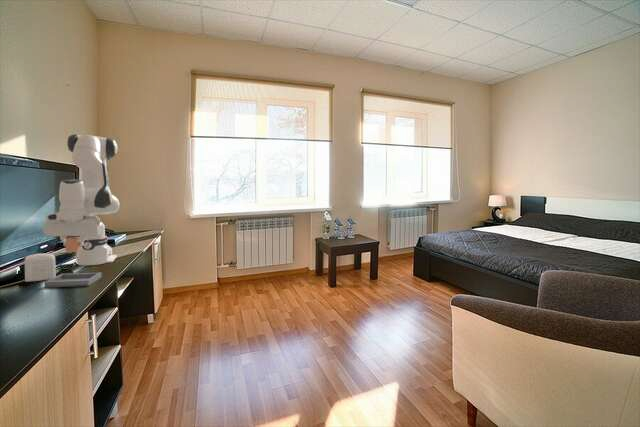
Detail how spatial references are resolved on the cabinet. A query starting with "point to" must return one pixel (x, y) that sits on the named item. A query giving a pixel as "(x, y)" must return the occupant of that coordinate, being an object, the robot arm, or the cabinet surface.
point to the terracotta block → (73, 244)
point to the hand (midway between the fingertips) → (73, 245)
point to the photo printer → (39, 267)
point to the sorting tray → (73, 280)
